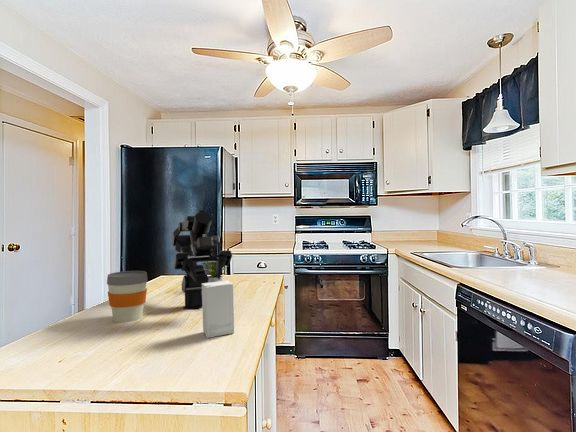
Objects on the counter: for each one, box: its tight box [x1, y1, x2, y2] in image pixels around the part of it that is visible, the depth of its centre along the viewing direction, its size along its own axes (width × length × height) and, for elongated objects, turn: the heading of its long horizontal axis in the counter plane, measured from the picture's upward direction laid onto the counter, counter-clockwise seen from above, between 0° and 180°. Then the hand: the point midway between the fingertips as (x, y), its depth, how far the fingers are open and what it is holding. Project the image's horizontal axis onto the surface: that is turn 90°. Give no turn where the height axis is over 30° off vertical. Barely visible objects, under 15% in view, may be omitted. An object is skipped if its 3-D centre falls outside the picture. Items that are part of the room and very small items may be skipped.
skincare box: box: [201, 279, 235, 339], centre depth 104 cm, size 8×6×15 cm
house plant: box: [203, 262, 229, 283], centre depth 161 cm, size 14×14×16 cm
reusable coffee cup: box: [106, 270, 149, 323], centre depth 119 cm, size 12×13×15 cm
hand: (207, 279), depth 115 cm, fingers open, 7 cm apart
